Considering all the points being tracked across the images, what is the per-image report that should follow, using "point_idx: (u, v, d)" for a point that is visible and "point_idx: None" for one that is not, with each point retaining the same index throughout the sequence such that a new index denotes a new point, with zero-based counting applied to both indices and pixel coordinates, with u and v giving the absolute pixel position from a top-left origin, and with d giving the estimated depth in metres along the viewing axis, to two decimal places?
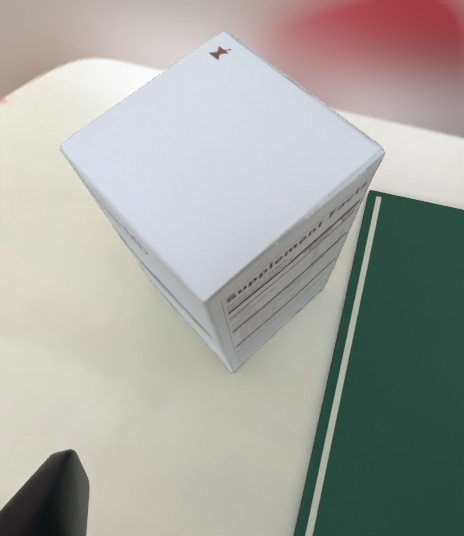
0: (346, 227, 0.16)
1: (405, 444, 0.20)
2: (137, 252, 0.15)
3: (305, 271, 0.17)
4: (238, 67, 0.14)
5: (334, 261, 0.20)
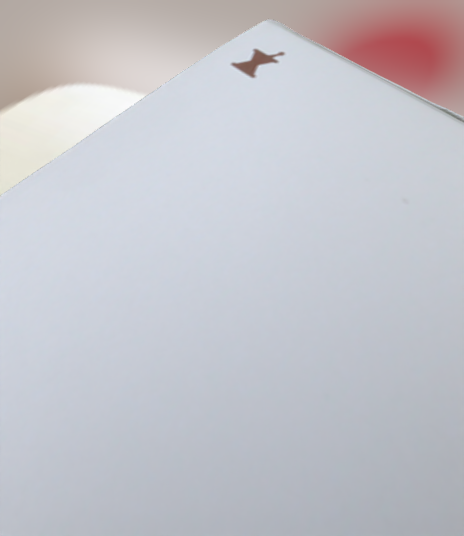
0: None
1: None
2: None
3: None
4: (305, 90, 0.05)
5: None
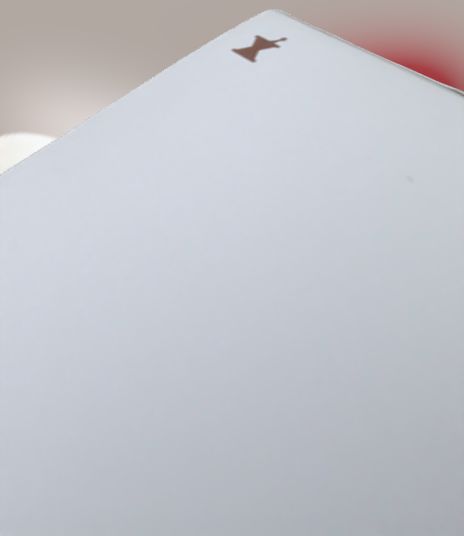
0: None
1: None
2: None
3: None
4: (306, 74, 0.05)
5: None
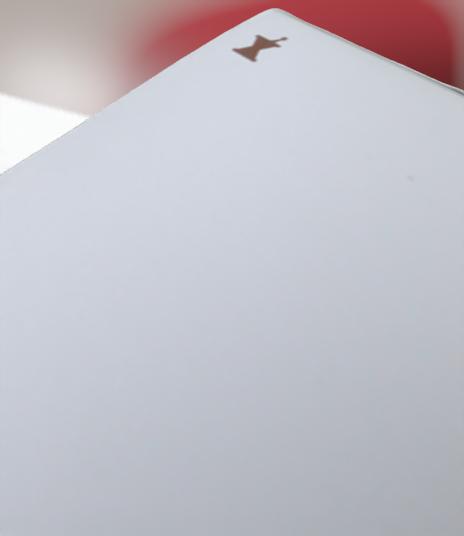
0: None
1: None
2: None
3: None
4: (307, 73, 0.05)
5: None
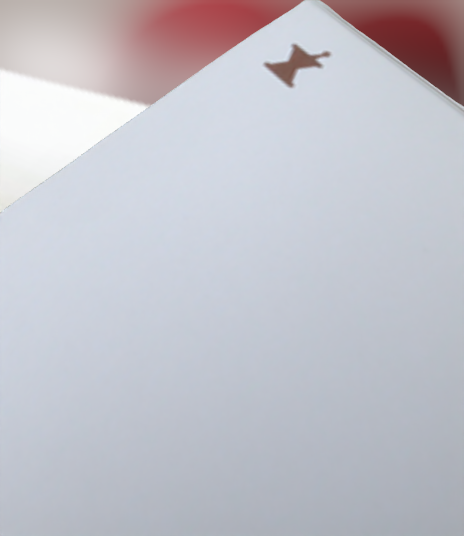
0: None
1: None
2: None
3: None
4: (355, 112, 0.04)
5: None
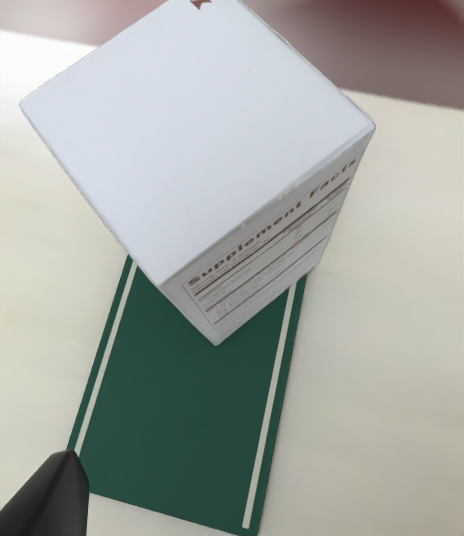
0: (336, 206, 0.15)
1: (170, 371, 0.22)
2: None
3: (288, 250, 0.16)
4: (220, 19, 0.12)
5: (326, 239, 0.18)
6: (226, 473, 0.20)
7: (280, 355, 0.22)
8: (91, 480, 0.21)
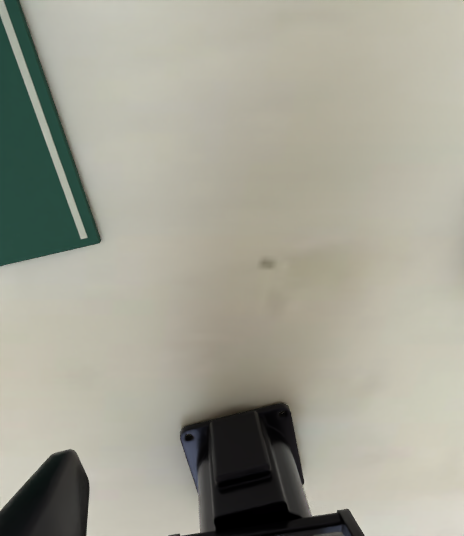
0: None
1: None
2: None
3: None
4: None
5: None
6: (38, 203, 0.19)
7: (17, 48, 0.17)
8: None
